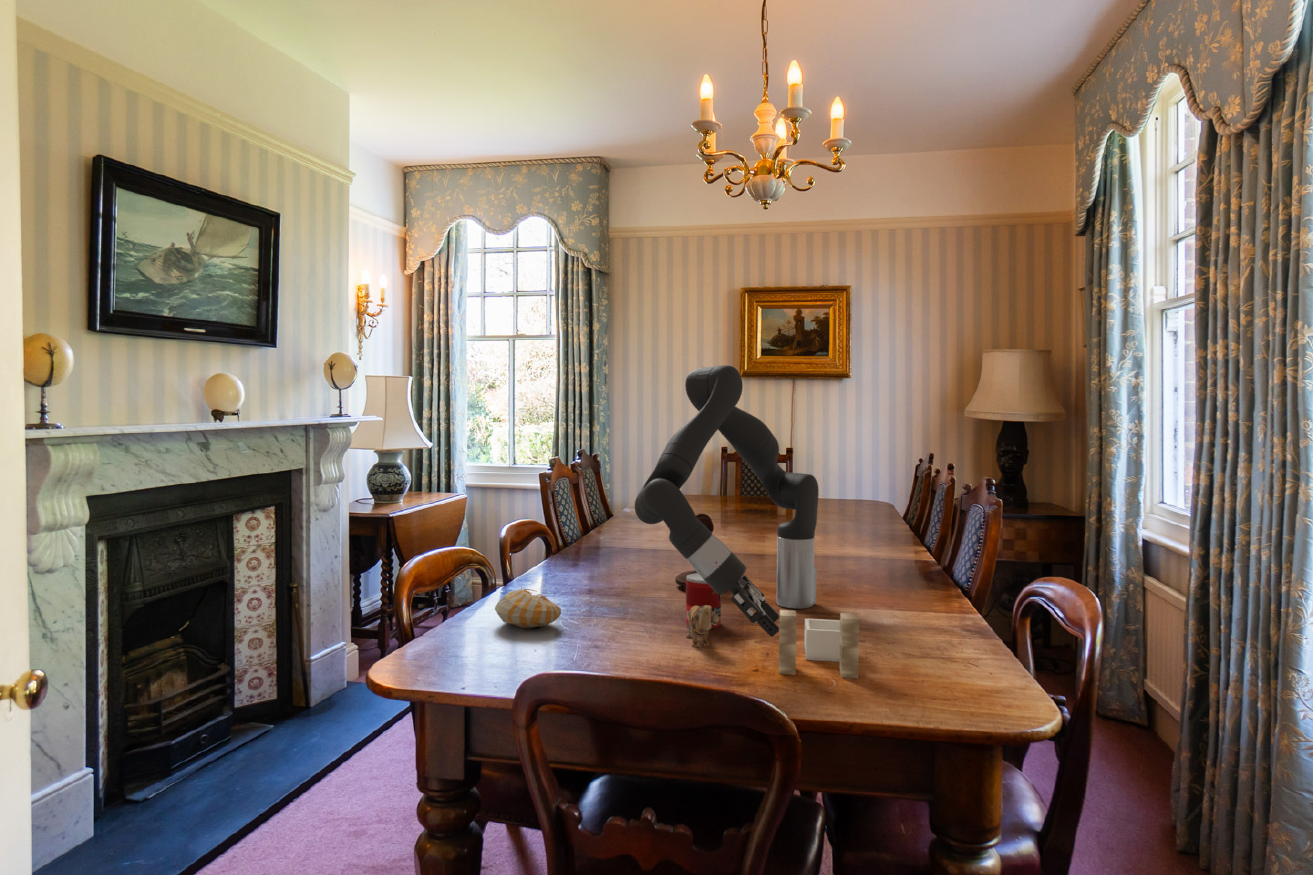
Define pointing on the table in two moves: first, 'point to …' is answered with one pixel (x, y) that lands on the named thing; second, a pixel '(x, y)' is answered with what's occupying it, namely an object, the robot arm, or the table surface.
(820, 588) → the table surface
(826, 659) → the open square box
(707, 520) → the brown double wheel stand
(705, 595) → the canned food
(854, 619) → the beige rectangular block
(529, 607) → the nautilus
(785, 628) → the tall square pillar
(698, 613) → the lion figurine
